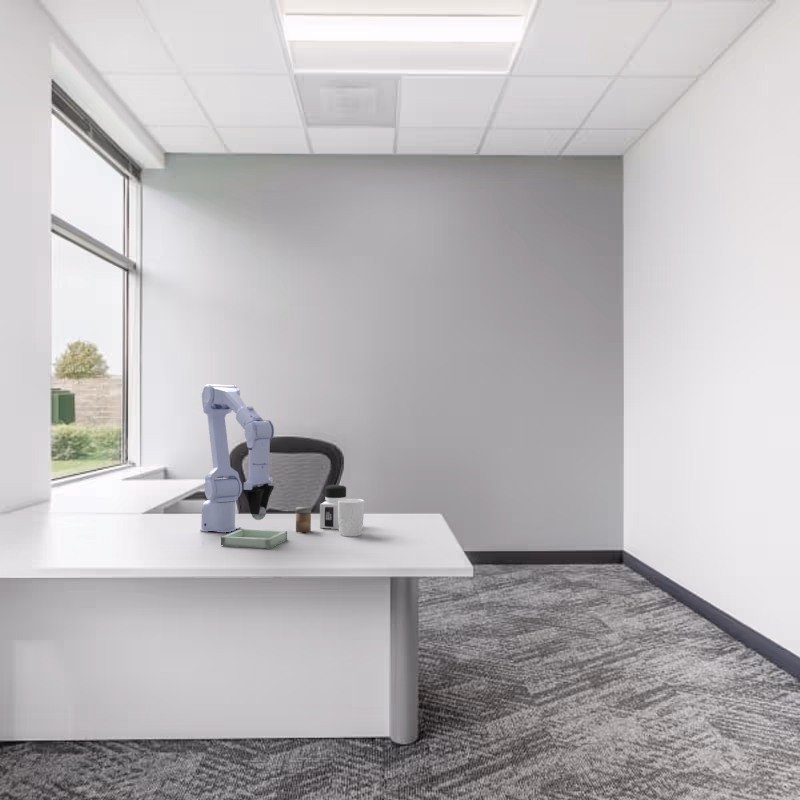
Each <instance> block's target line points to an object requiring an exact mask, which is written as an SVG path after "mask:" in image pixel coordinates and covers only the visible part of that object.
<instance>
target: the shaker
mask: <svg viewBox="0 0 800 800" xmlns="http://www.w3.org/2000/svg"><path fill="white" fill-rule="evenodd" d="M311 514H312V507H310V506H297V507H295V532H296V533H298V532H302V533H301V534H304V533H303V532H307V533H310V532H311V530H312V528H311V526H312V525H311V524H312V519H311V518H312V517H311V516H312V515H311Z"/></svg>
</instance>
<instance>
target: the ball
mask: <svg viewBox="0 0 800 800" xmlns="http://www.w3.org/2000/svg"><path fill="white" fill-rule="evenodd" d="M266 514H267V509H266V510H265V508H264V507H263V506H260V511H259V514H251V517H252V518H253V519H254V520H257V521H260V520H263V519H264V518H265V517H266Z"/></svg>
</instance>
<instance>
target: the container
mask: <svg viewBox="0 0 800 800" xmlns="http://www.w3.org/2000/svg"><path fill="white" fill-rule="evenodd" d="M324 490H325V491H324V498H325V499H324V501H323V502H322V503H320V505H319V528H320V529H323V528H331V529H330V530H339V524H338V500H340V499H347V487H346V486H345V485H342V484H329V485H326V487H325V489H324Z"/></svg>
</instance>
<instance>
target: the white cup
mask: <svg viewBox="0 0 800 800" xmlns="http://www.w3.org/2000/svg"><path fill="white" fill-rule="evenodd" d="M364 511H365V500H364V499H362V498H346V499H340V500H338V524H339V529H338V535H339V536H341V535H343V536H342V537H358V535H359V536H361V535H363V526H364Z"/></svg>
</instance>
